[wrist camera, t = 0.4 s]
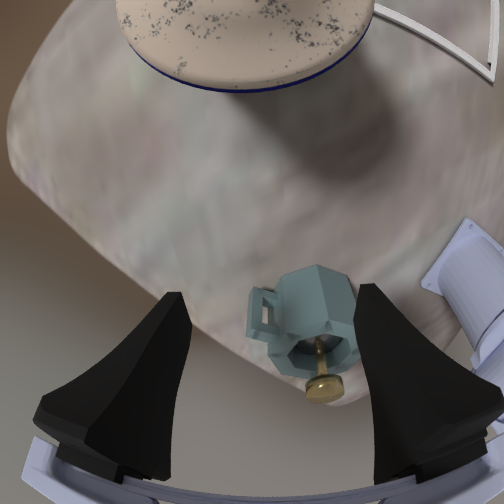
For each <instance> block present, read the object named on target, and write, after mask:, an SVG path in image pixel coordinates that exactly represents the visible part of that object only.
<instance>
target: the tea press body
mask: <svg viewBox="0 0 504 504" xmlns="http://www.w3.org/2000/svg"><path fill="white" fill-rule="evenodd" d="M262 306H264V307H268V324H265V323H262ZM355 308H356V302H355V299H354V296H353V293H352V290H351V287H350V284H349V281H348V278H347V275H344V274H342V273H339V272H336V271H333V270H330V269H328V268H325V267H322V266H319V265H314V266H311V267H308V268H305V269H302V270H299V271H296V272H292V273H289V274H286V275H283V276H282V277H281V279H280V280H279V282H278V284H277V285H276V287H275V289H274V291H273V292H270V291H267V290H263V289H260V288H257V287H254V286H253V288H252V290H251V292H250V294H249V300H248V314H247V327H246V337H249V338H252V339H256V340H260V341H264V342H268V356H269V358H270V359H271V361H272V362H273V363H274V365H275V366H276V368H277V369H278V370H279V372H280V373H281V374H283V375H288V376H294V377H299V378H305V379H312V378H314V377H316V376H318V371H317V363H316V355H307V354H304V353H301V352H300V351H298V350H297V348H296V346H295V345H296V344H297V343H298V341H300V340H304V339H307V338H311V337H314V336H318V335H321V334H325V333H326V334H331V335H335V336H339V337H341V341H340V343H339V345H338V346H337V347H336V348H334V349H333V350H331V351H329V352H327V353H325V359H326V365H327V372H328V374H337V373H341V372H344V371H347V370H348V369H349V368H350V367H352V366H353V365H354V364H355V363H356V362H357V361H358V360H359V359H360V358H361V356H360V352H359V349H358V345H357V342H356V336H355V330H354V323H353V317H354V313H355Z"/></svg>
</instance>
